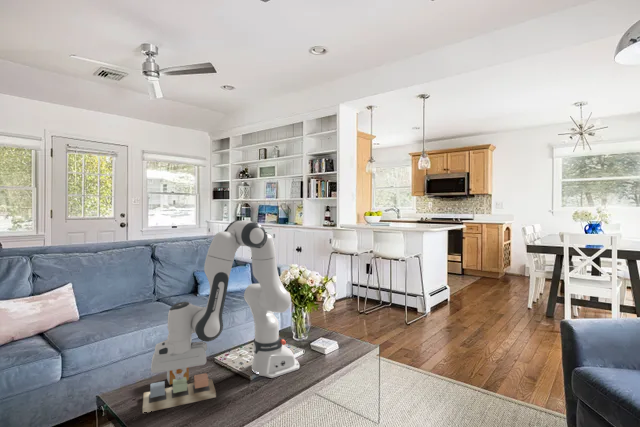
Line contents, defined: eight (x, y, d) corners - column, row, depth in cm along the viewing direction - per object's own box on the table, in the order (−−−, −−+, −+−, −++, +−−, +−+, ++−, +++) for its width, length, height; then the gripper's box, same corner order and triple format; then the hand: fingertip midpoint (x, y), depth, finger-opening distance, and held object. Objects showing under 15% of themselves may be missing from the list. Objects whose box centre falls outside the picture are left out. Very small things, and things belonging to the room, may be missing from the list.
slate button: (164, 388, 137) (164, 381, 137) (164, 395, 132) (164, 387, 132) (150, 391, 135) (150, 383, 135) (150, 398, 130) (150, 390, 130)
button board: (211, 383, 148) (212, 378, 148) (215, 397, 138) (215, 391, 138) (143, 397, 137) (143, 392, 136) (142, 413, 127) (142, 407, 127)
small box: (169, 385, 146) (169, 355, 145) (166, 378, 151) (166, 349, 151) (189, 380, 150) (189, 350, 150) (186, 373, 156) (186, 345, 155)
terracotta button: (206, 380, 144) (206, 372, 144) (208, 385, 139) (208, 378, 139) (194, 382, 142) (194, 375, 141) (195, 388, 137) (195, 381, 137)
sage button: (186, 384, 140) (186, 376, 140) (187, 390, 136) (187, 382, 136) (172, 386, 138) (172, 379, 138) (173, 393, 134) (173, 385, 134)
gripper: (206, 337, 143) (205, 370, 144) (151, 345, 135) (151, 380, 135) (208, 343, 138) (207, 377, 138) (151, 351, 129) (150, 388, 129)
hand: (179, 379), depth 137 cm, fingers closed
